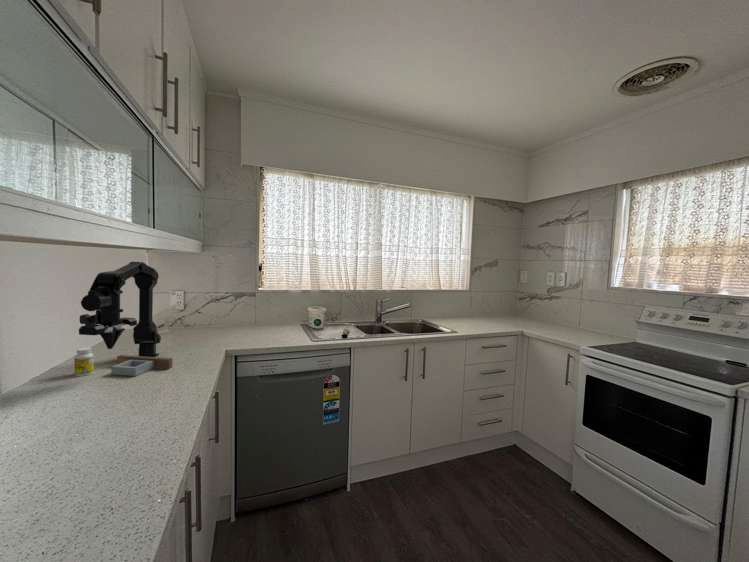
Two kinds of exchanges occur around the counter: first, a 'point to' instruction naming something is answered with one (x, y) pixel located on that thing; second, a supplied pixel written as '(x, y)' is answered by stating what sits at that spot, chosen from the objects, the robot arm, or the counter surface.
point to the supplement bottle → (84, 362)
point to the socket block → (132, 367)
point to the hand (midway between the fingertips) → (110, 348)
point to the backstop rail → (158, 361)
